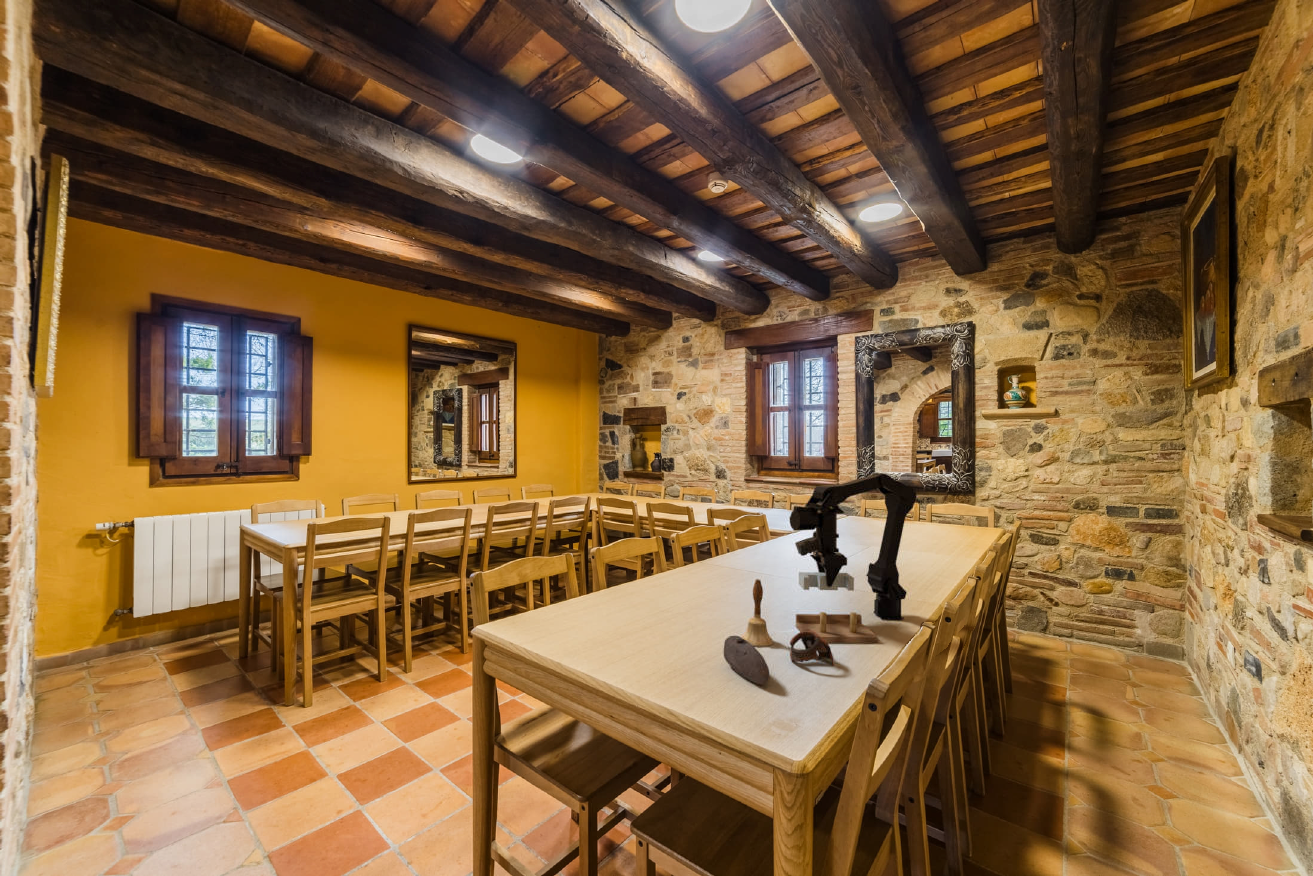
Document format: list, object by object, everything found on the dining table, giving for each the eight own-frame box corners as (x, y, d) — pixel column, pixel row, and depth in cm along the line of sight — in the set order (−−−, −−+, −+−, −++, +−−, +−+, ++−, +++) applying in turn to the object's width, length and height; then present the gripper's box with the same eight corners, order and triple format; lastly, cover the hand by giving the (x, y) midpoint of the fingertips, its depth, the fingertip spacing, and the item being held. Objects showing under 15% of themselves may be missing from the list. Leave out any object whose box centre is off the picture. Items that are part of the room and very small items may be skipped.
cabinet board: (859, 626, 150) (859, 603, 150) (877, 642, 138) (877, 617, 138) (795, 626, 150) (795, 603, 150) (808, 642, 138) (808, 617, 138)
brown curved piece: (842, 673, 121) (827, 645, 119) (803, 689, 122) (788, 660, 121) (828, 641, 132) (815, 614, 131) (793, 655, 134) (779, 629, 132)
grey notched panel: (846, 584, 157) (846, 572, 157) (853, 590, 151) (853, 578, 151) (798, 584, 157) (798, 572, 157) (803, 589, 151) (803, 577, 151)
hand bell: (776, 638, 141) (776, 577, 141) (769, 649, 133) (769, 585, 134) (745, 633, 144) (745, 574, 145) (736, 644, 137) (737, 581, 137)
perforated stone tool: (777, 689, 112) (777, 656, 112) (755, 693, 110) (756, 659, 110) (741, 662, 126) (741, 632, 126) (721, 665, 124) (721, 635, 124)
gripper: (790, 524, 163) (790, 575, 163) (806, 534, 145) (806, 592, 145) (827, 524, 163) (827, 575, 163) (848, 535, 144) (847, 593, 144)
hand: (825, 583), depth 154 cm, fingers closed on grey notched panel, 6 cm apart
